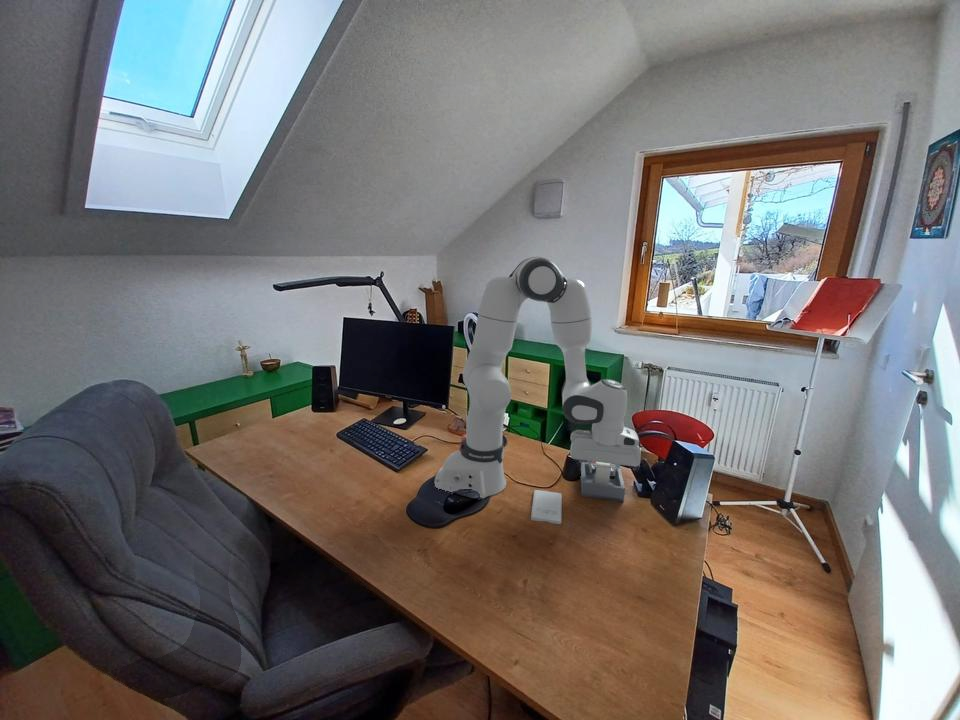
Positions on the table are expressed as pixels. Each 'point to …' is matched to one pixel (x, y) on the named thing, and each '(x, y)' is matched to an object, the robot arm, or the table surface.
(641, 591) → the table surface
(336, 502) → the table surface
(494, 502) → the table surface
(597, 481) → the cream block
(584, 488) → the bin
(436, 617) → the table surface
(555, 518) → the external hard drive
